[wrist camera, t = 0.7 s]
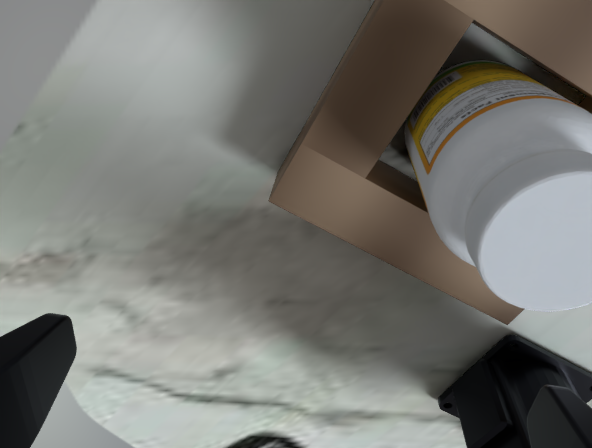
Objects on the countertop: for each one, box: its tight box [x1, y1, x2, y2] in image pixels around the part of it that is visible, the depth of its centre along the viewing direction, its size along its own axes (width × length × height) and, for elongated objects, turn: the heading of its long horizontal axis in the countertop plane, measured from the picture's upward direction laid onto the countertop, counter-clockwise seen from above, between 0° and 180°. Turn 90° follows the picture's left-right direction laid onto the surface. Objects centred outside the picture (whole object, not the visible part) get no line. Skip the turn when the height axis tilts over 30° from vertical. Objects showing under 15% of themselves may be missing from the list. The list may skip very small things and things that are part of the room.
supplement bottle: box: [405, 60, 592, 312], centre depth 15 cm, size 5×5×10 cm
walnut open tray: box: [269, 0, 592, 325], centre depth 18 cm, size 12×12×3 cm
